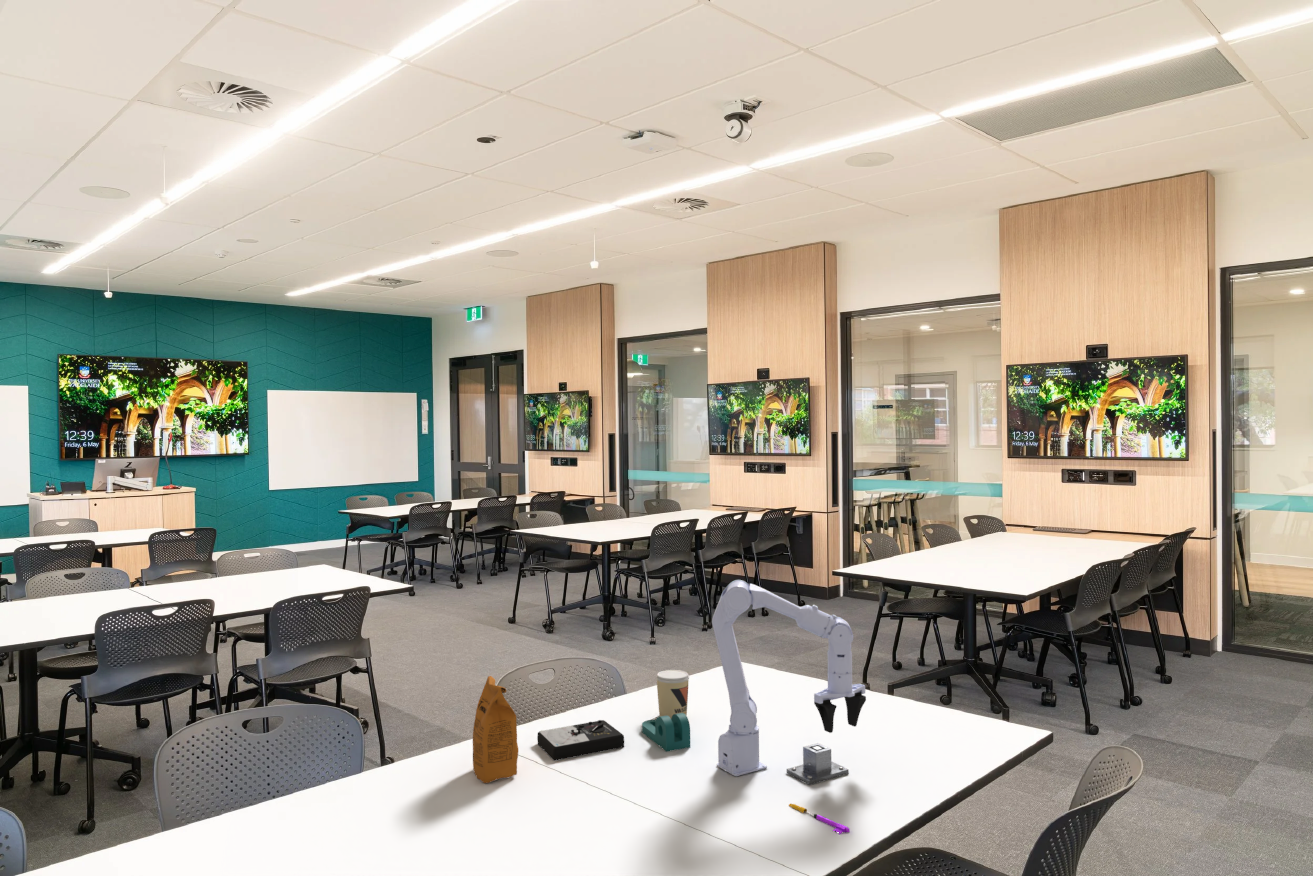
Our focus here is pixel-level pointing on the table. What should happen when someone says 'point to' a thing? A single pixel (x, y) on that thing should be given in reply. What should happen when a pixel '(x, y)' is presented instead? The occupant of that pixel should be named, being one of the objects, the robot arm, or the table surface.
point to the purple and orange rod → (823, 819)
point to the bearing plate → (813, 778)
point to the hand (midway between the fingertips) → (840, 728)
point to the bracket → (669, 731)
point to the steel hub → (817, 759)
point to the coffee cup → (672, 692)
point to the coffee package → (494, 735)
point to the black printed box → (580, 739)
